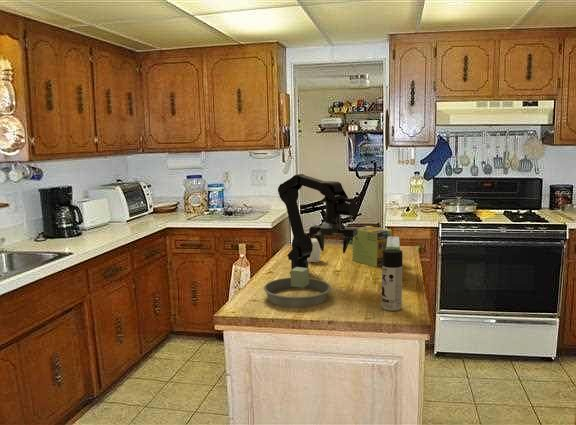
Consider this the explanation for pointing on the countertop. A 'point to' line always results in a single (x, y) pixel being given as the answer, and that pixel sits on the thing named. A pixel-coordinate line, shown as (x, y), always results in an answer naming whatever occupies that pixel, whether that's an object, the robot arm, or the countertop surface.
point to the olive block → (300, 277)
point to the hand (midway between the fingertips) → (333, 252)
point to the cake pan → (289, 301)
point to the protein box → (370, 245)
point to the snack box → (393, 243)
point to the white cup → (315, 251)
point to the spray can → (392, 279)
